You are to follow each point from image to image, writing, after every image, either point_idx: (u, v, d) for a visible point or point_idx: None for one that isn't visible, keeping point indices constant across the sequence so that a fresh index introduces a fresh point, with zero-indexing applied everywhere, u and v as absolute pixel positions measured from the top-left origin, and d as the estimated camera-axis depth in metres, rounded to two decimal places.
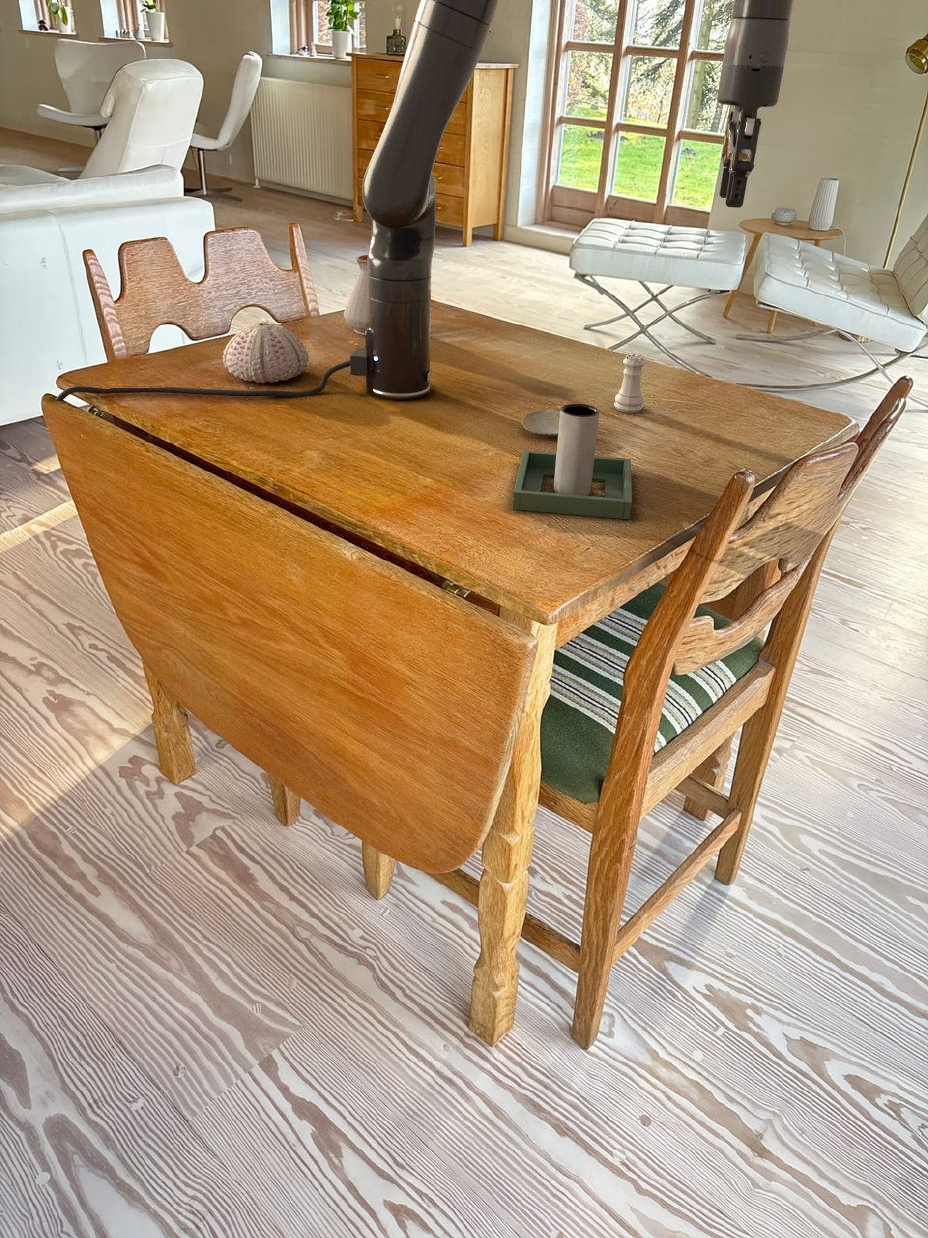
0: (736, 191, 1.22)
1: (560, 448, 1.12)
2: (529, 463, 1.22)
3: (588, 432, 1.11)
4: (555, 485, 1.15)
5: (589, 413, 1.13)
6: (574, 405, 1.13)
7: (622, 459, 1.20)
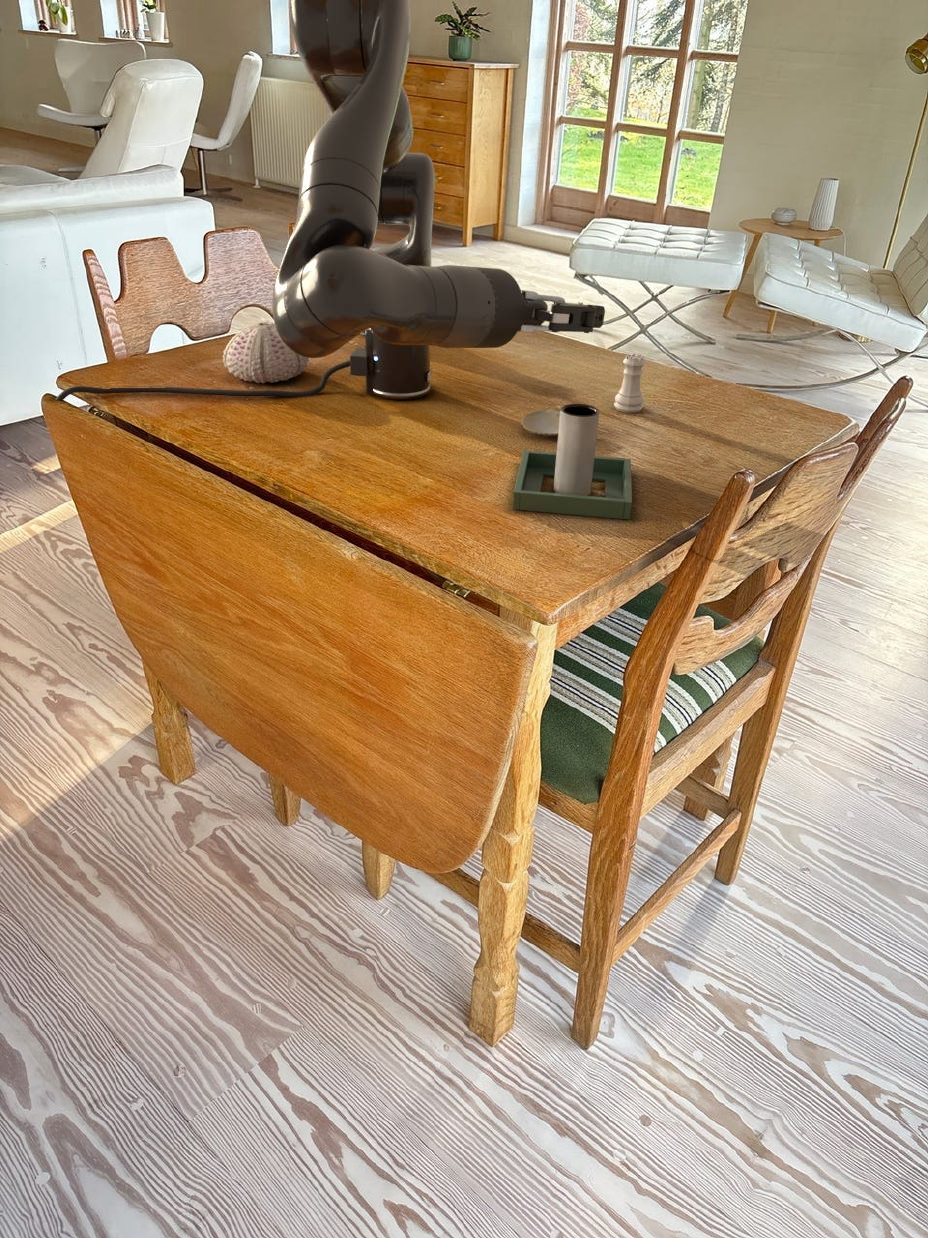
0: None
1: (560, 448, 1.12)
2: (529, 463, 1.22)
3: (589, 432, 1.11)
4: (555, 485, 1.15)
5: (589, 413, 1.13)
6: (574, 405, 1.13)
7: (622, 459, 1.20)
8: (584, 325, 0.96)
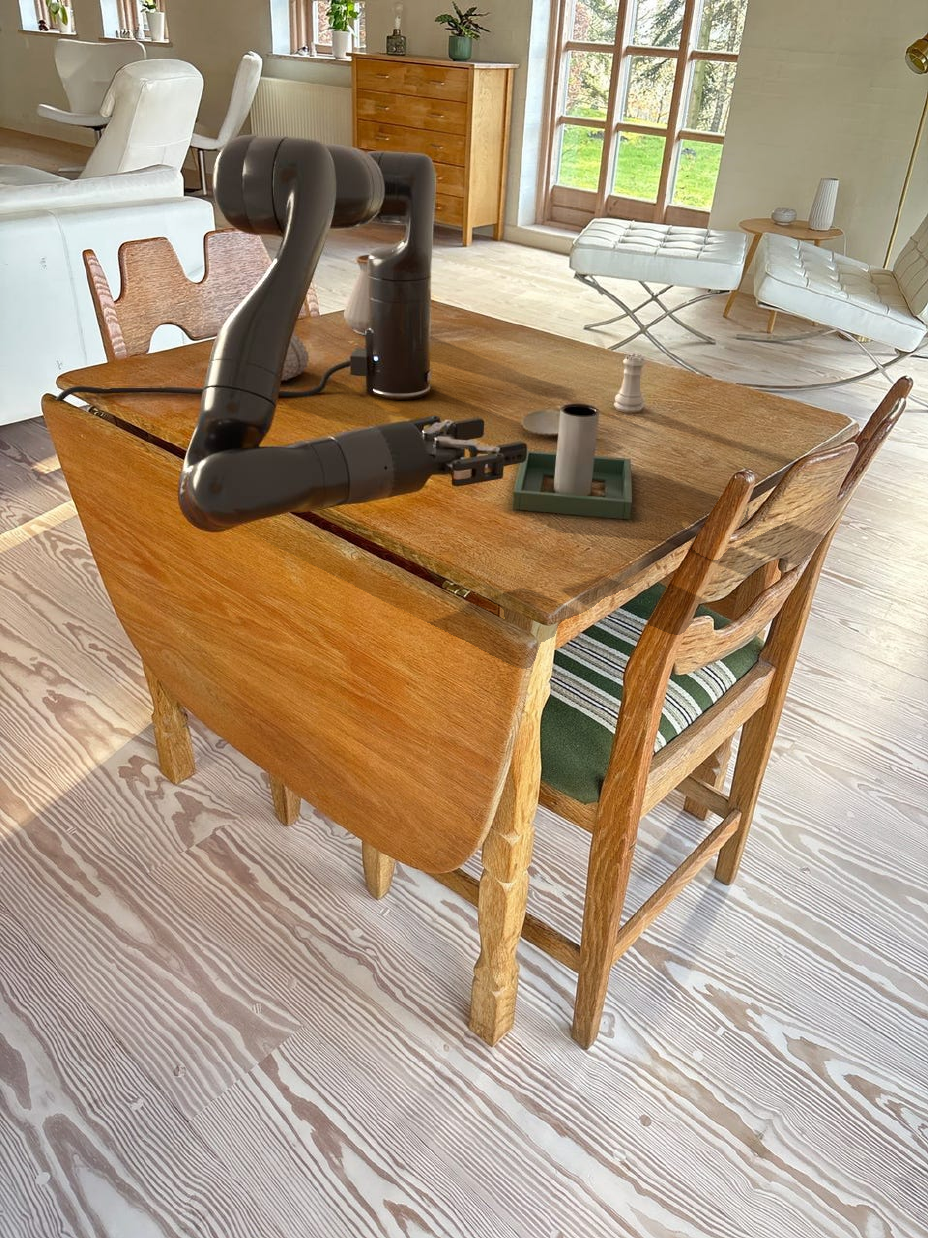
0: None
1: (560, 448, 1.12)
2: (529, 463, 1.22)
3: (589, 432, 1.11)
4: (555, 485, 1.15)
5: (589, 413, 1.13)
6: (574, 405, 1.13)
7: (622, 459, 1.20)
8: (493, 472, 1.00)
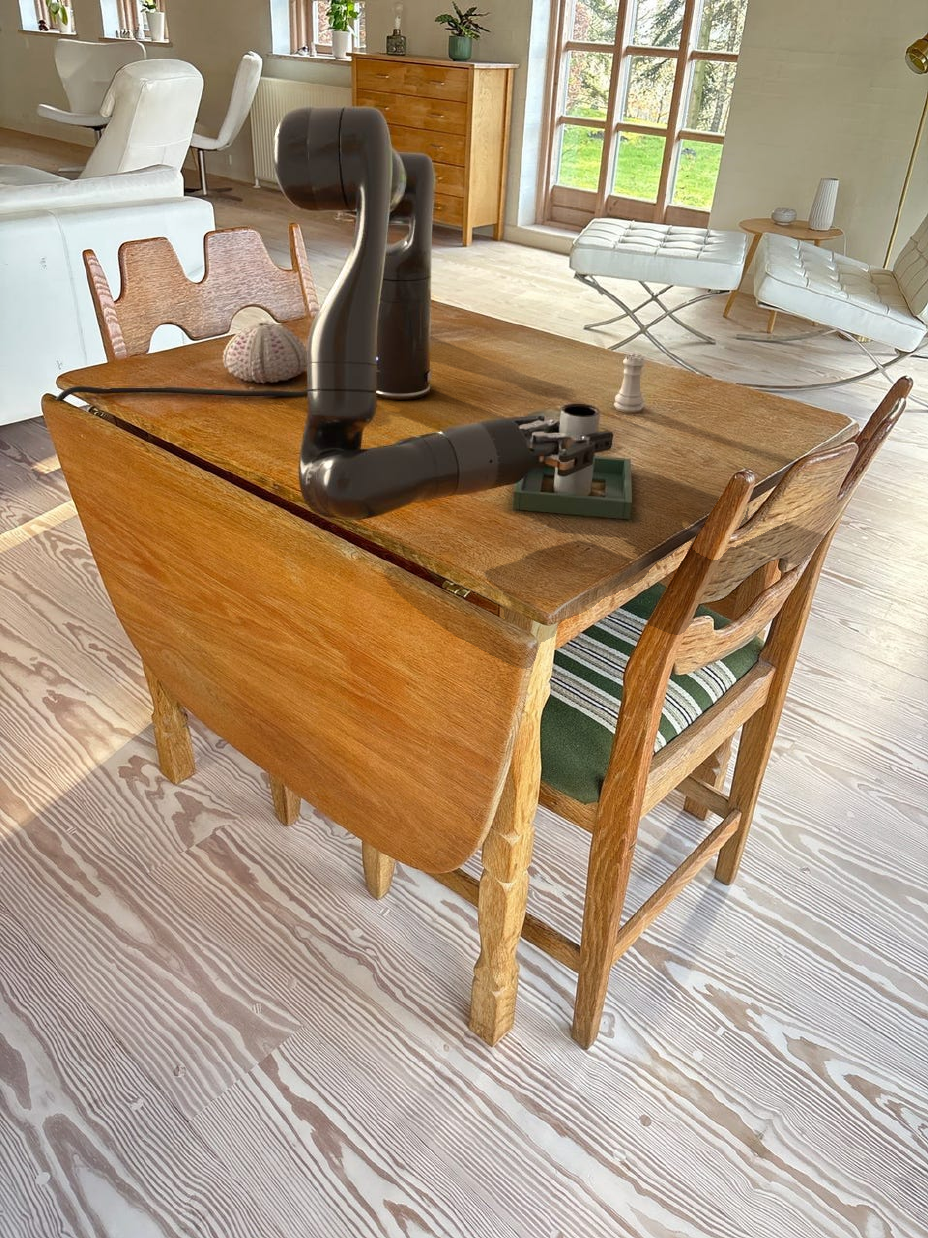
0: None
1: None
2: None
3: (589, 432, 1.10)
4: (555, 485, 1.15)
5: (590, 413, 1.13)
6: (575, 405, 1.13)
7: (622, 459, 1.20)
8: (584, 459, 1.08)
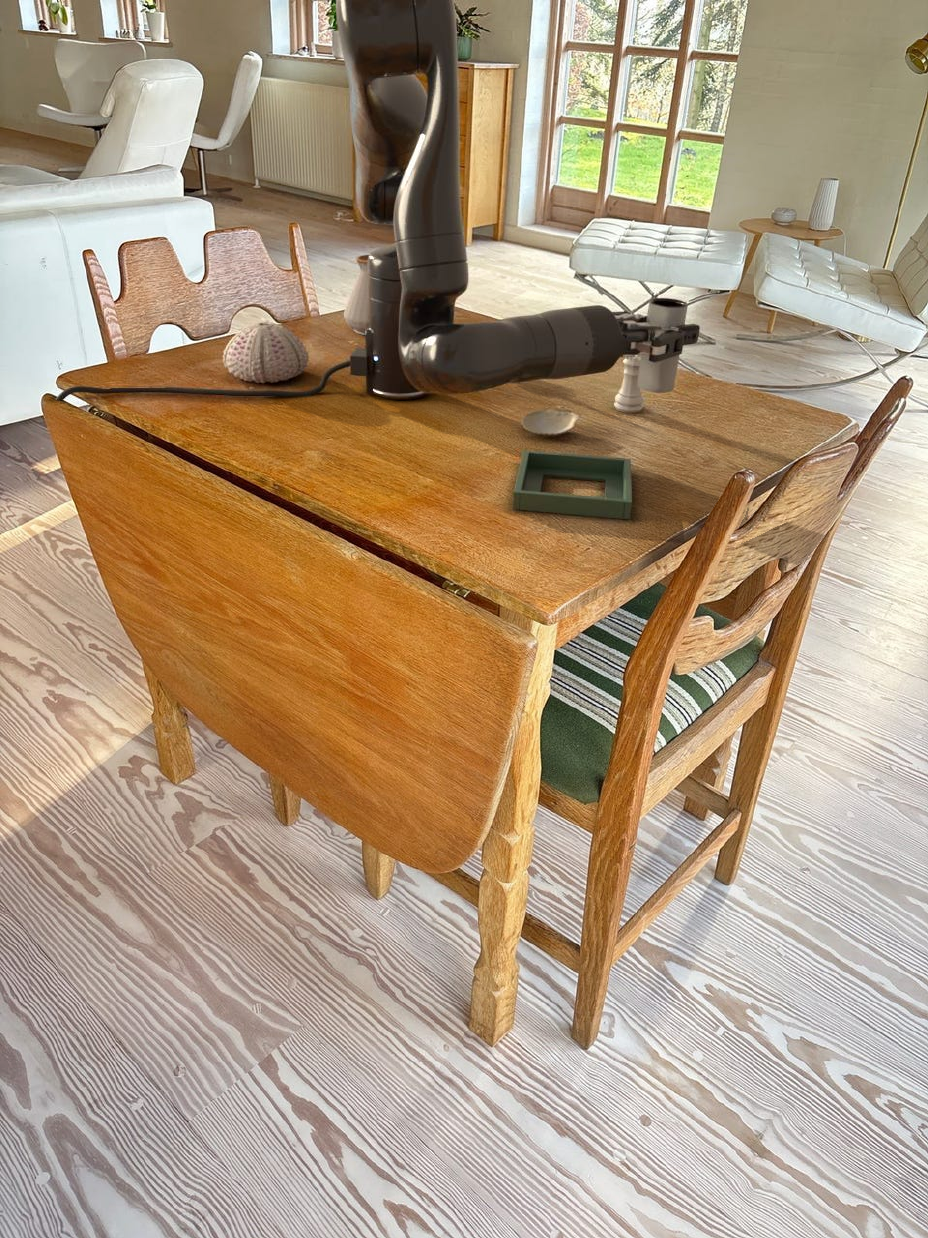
0: None
1: (648, 341, 1.14)
2: (529, 463, 1.22)
3: (677, 324, 1.12)
4: (640, 380, 1.17)
5: None
6: (661, 299, 1.15)
7: (622, 459, 1.20)
8: (674, 348, 1.10)
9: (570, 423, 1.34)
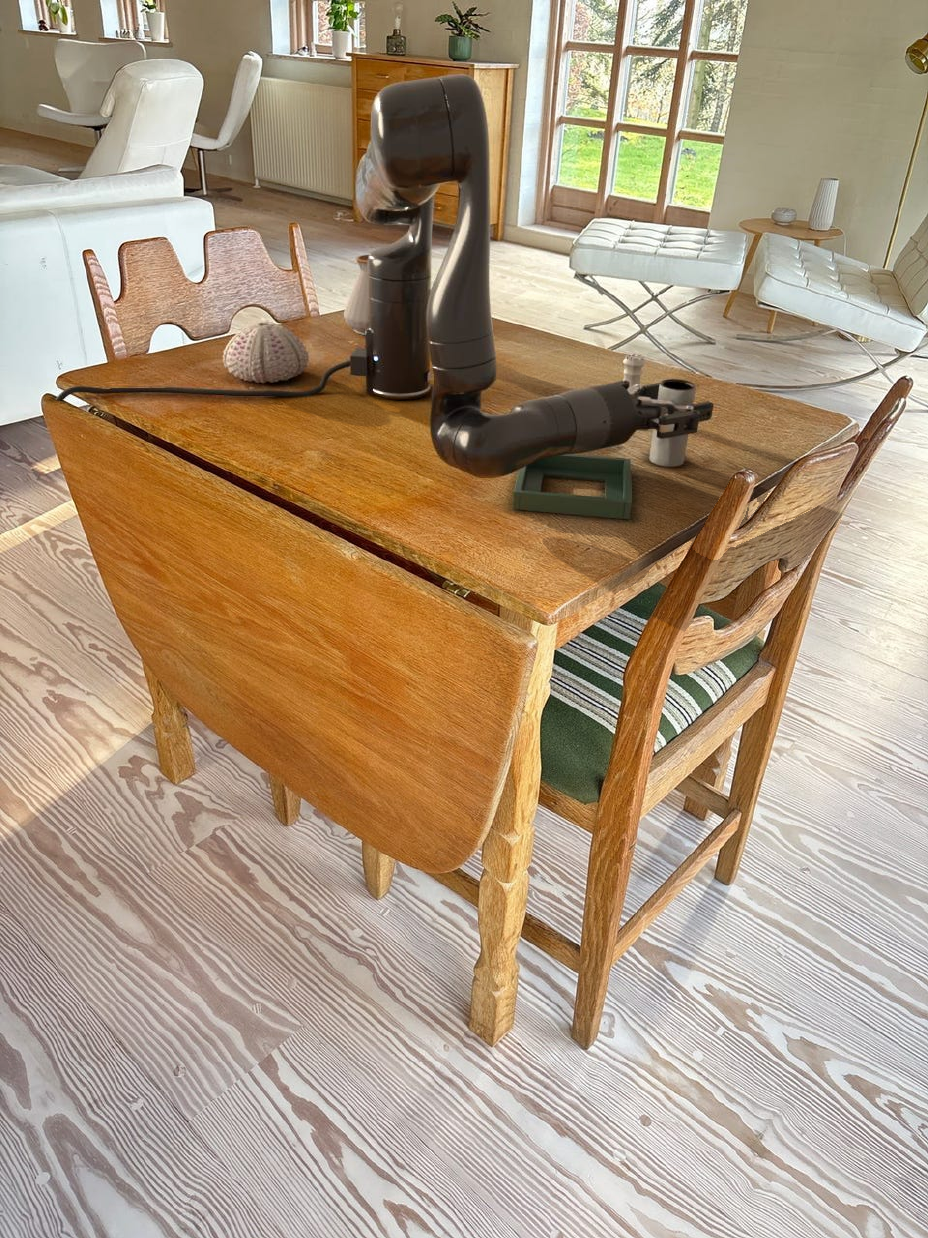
0: None
1: None
2: None
3: None
4: (652, 455, 1.25)
5: (685, 388, 1.22)
6: (671, 380, 1.23)
7: (622, 459, 1.20)
8: (689, 427, 1.16)
9: None
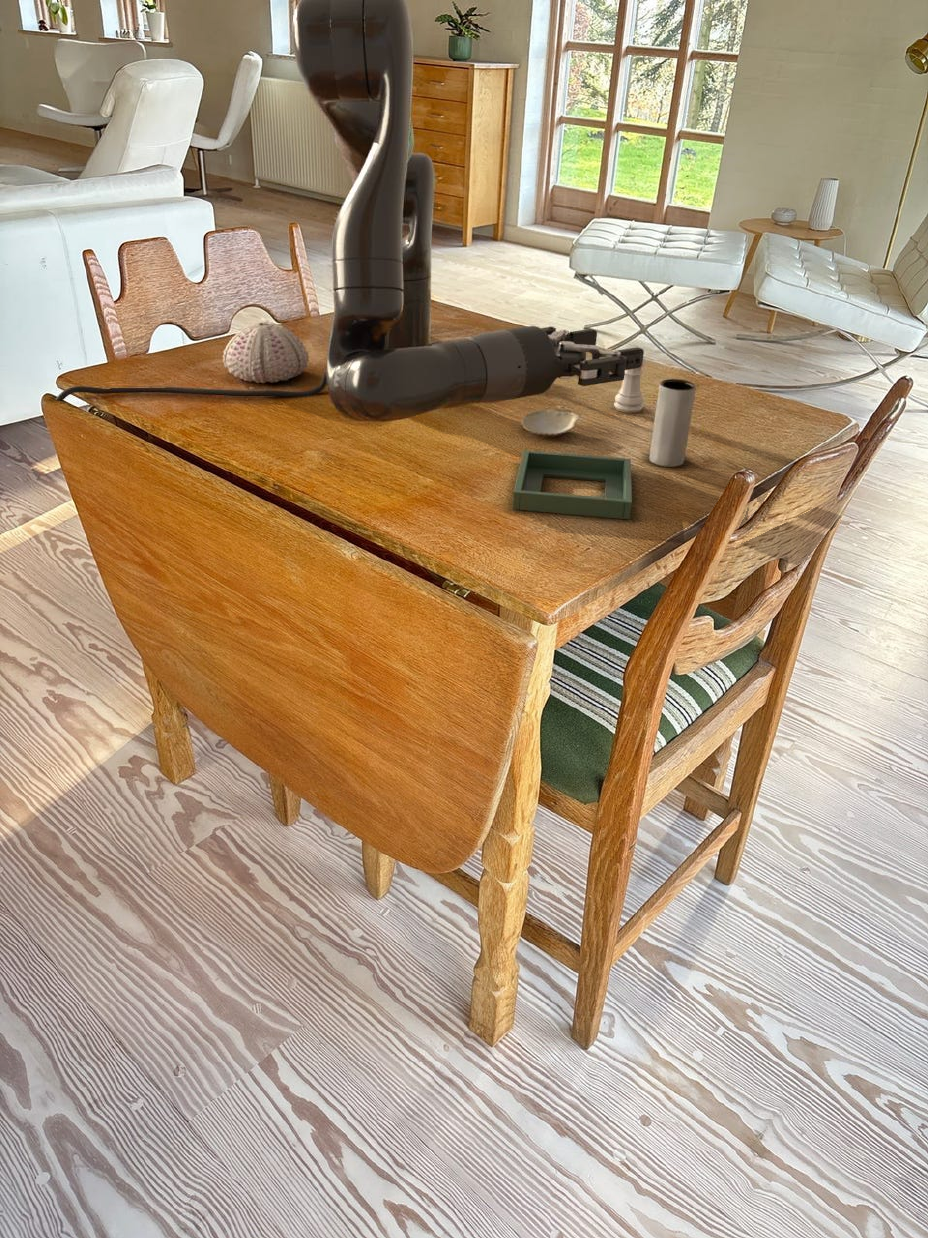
0: None
1: (659, 420, 1.22)
2: (529, 463, 1.22)
3: (686, 405, 1.20)
4: (652, 455, 1.25)
5: (685, 388, 1.22)
6: (671, 380, 1.23)
7: (622, 459, 1.20)
8: (615, 374, 1.06)
9: (570, 423, 1.34)
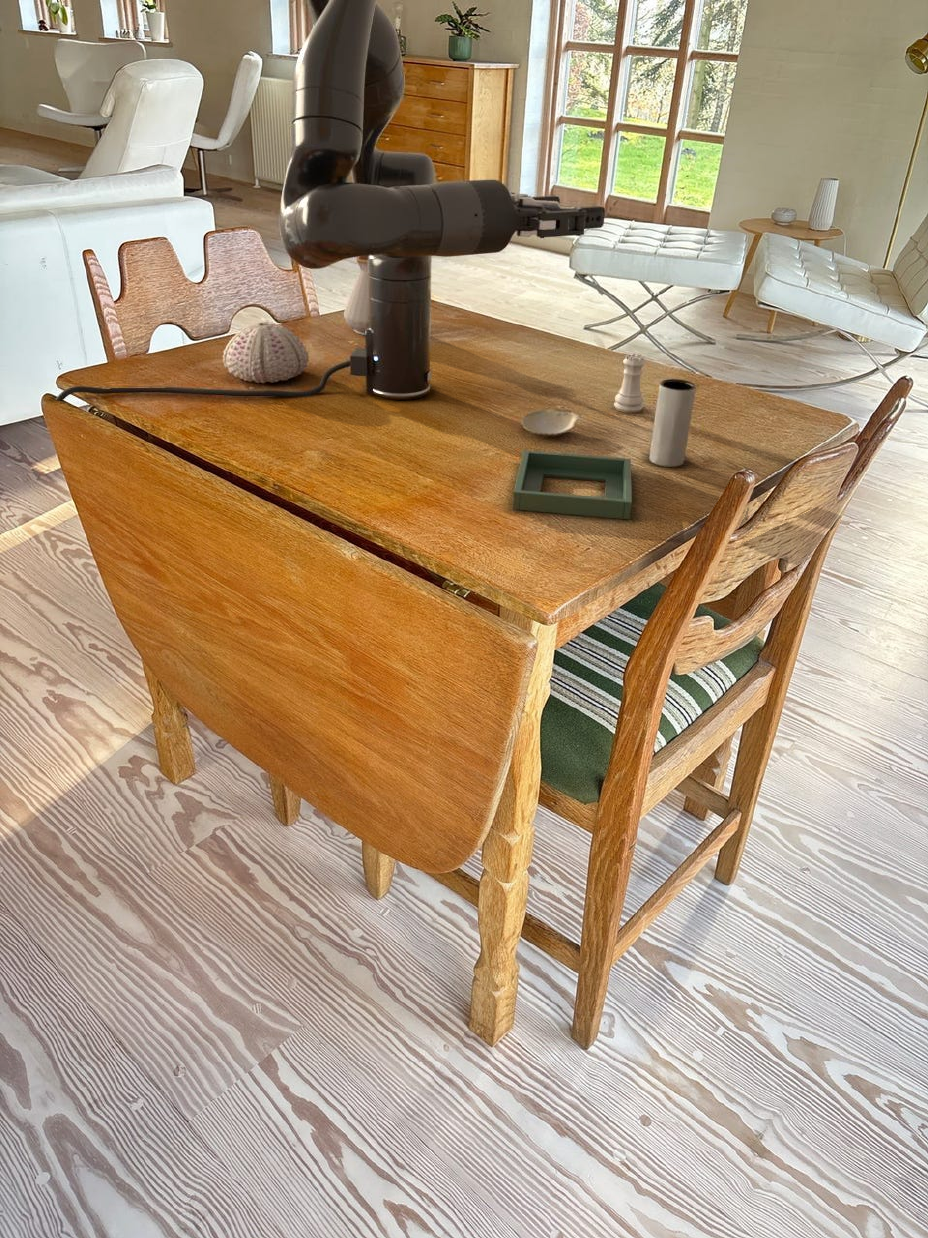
0: None
1: (659, 420, 1.22)
2: (529, 463, 1.22)
3: (686, 405, 1.20)
4: (652, 454, 1.25)
5: (685, 388, 1.22)
6: (671, 380, 1.23)
7: (622, 459, 1.20)
8: (575, 228, 1.05)
9: (570, 423, 1.34)
